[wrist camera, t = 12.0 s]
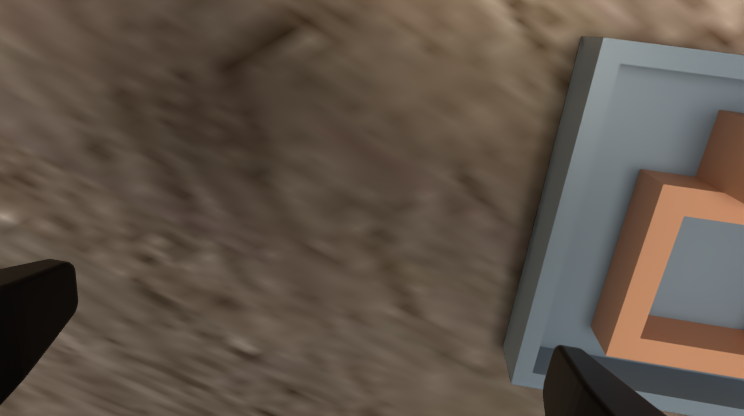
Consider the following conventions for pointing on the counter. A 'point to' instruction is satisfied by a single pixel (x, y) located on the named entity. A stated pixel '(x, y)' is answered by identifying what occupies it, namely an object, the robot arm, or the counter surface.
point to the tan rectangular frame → (651, 253)
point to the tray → (608, 211)
